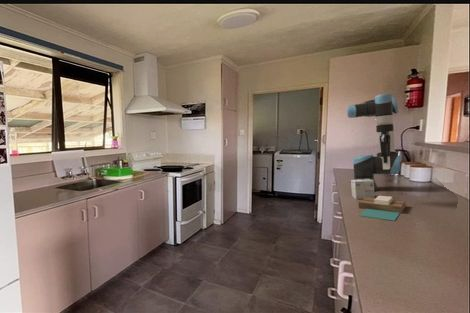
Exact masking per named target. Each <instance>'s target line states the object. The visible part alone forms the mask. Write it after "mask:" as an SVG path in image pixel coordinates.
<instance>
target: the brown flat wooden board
mask: <svg viewBox="0 0 470 313" xmlns="http://www.w3.org/2000/svg"><path fill="white" fill-rule="evenodd" d="M376 198H377V197H375V198H369V197H365V198H364V199H360V201H358V209H364V210H365V209H374V210H382V211H390V212H398V213H400V214H402V213H403V212H404V210H405V208H406V207H407V206H406V204H407V203H406V200H403V199H402V200H399V199H393V201H392V202H391V203H390V204H389V205H383V204H374V199H376Z"/></svg>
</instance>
